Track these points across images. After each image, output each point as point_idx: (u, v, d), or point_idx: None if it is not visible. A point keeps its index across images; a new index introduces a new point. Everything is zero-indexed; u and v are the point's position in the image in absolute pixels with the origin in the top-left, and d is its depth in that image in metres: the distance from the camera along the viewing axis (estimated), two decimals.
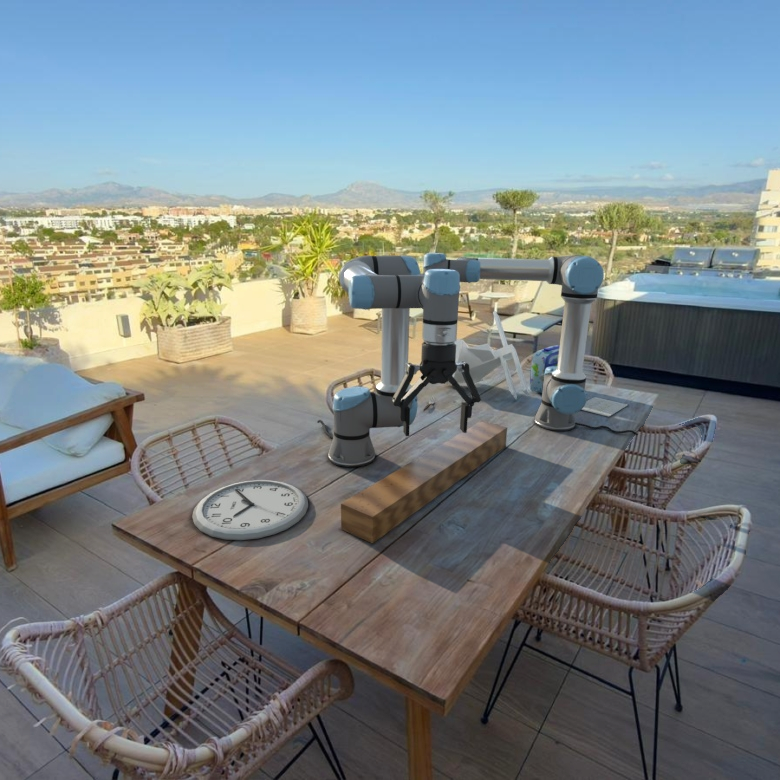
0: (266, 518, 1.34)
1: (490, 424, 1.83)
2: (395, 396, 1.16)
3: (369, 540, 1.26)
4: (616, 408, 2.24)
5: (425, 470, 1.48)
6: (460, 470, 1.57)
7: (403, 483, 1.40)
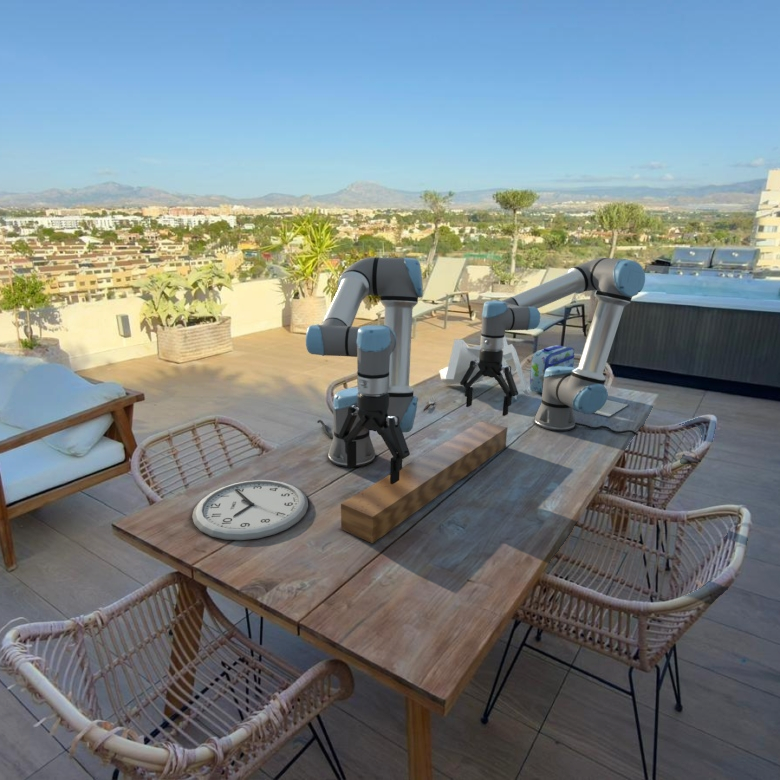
0: (266, 518, 1.34)
1: (490, 424, 1.83)
2: None
3: (369, 540, 1.26)
4: (616, 408, 2.24)
5: (425, 470, 1.48)
6: (460, 470, 1.57)
7: (403, 483, 1.40)
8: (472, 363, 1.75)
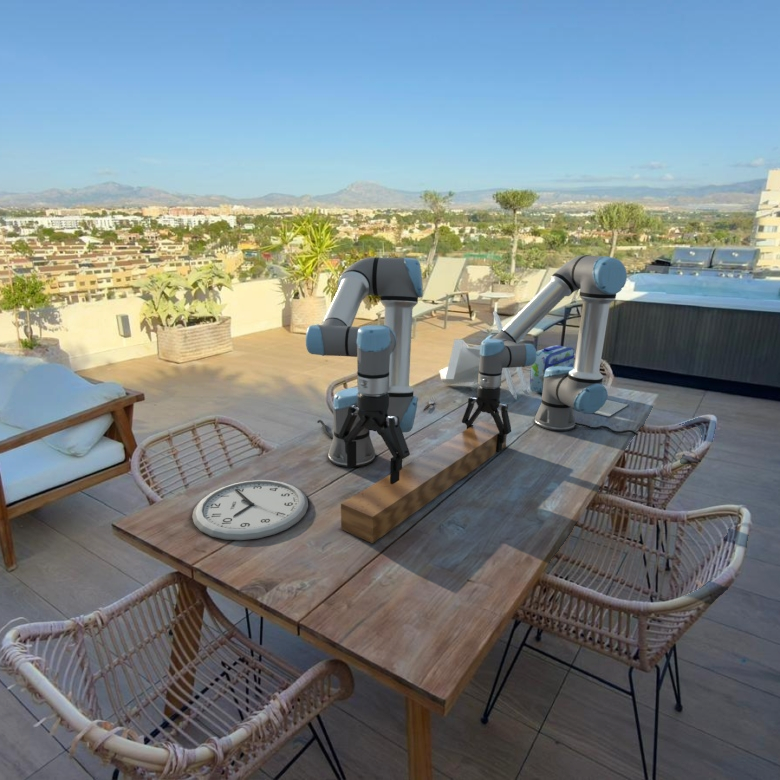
0: (266, 518, 1.34)
1: (490, 424, 1.83)
2: None
3: (369, 540, 1.26)
4: (616, 408, 2.24)
5: (425, 470, 1.48)
6: (460, 470, 1.57)
7: (403, 483, 1.40)
8: (470, 400, 1.79)
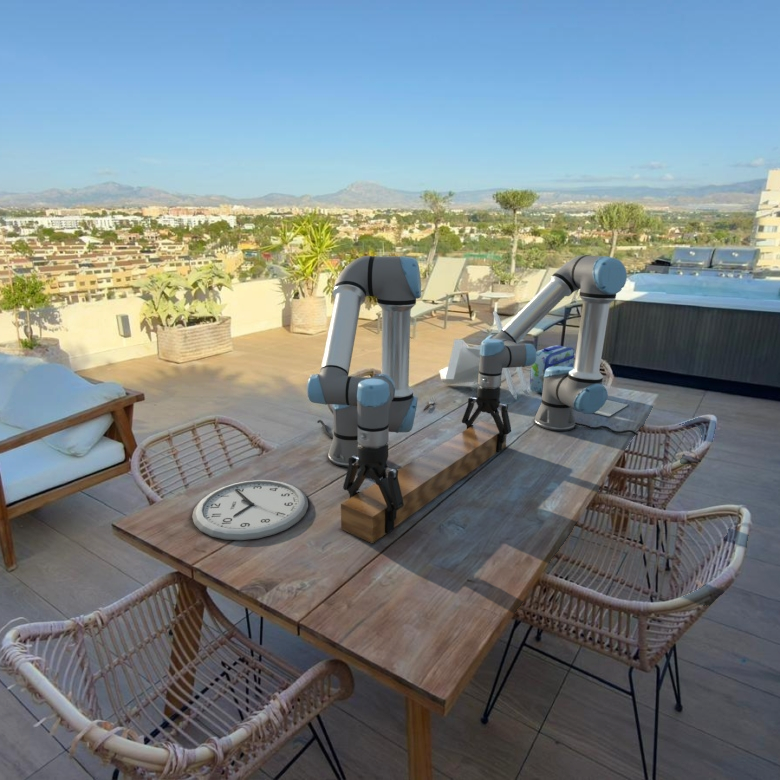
0: (266, 518, 1.34)
1: (490, 424, 1.83)
2: None
3: (369, 540, 1.26)
4: (616, 408, 2.24)
5: (425, 470, 1.48)
6: (460, 470, 1.57)
7: (403, 483, 1.40)
8: (470, 400, 1.79)
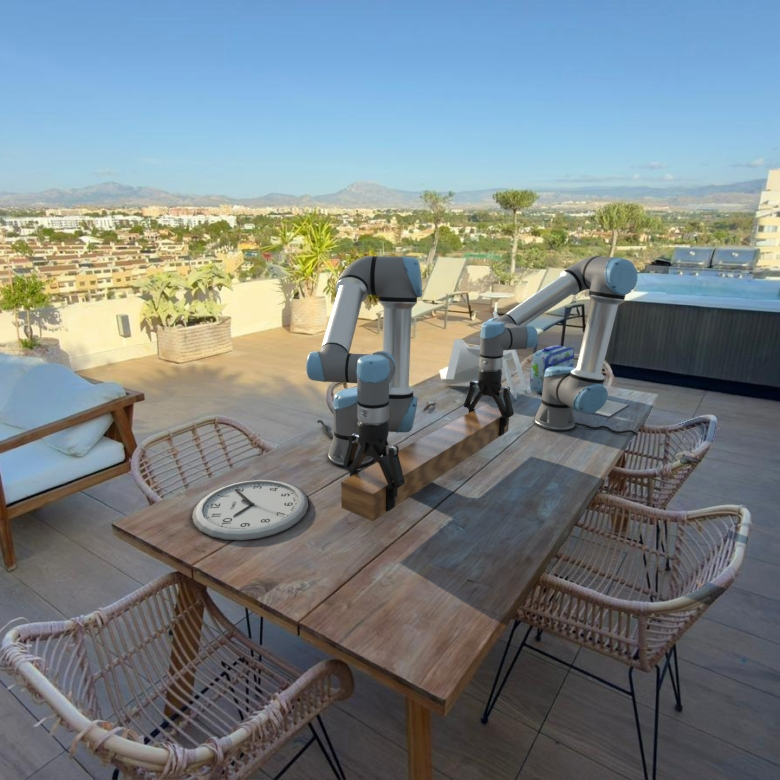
0: (266, 518, 1.34)
1: (492, 408, 1.82)
2: None
3: (369, 518, 1.25)
4: (616, 408, 2.24)
5: (427, 450, 1.47)
6: (462, 452, 1.56)
7: (404, 462, 1.39)
8: (471, 384, 1.77)
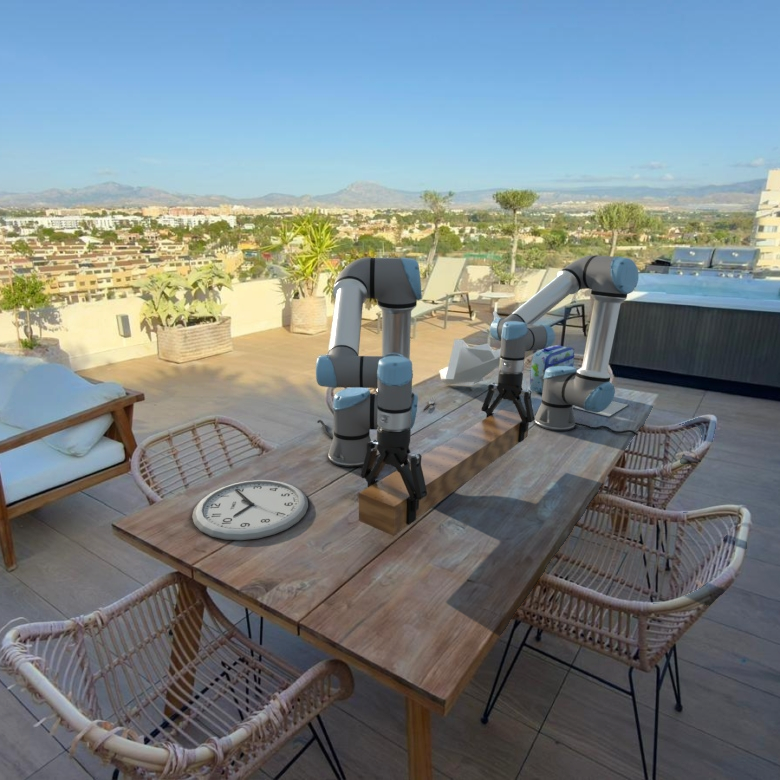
0: (266, 518, 1.34)
1: (511, 413, 1.73)
2: None
3: (390, 532, 1.16)
4: (616, 408, 2.24)
5: (447, 458, 1.38)
6: (482, 460, 1.47)
7: (424, 472, 1.30)
8: (490, 387, 1.69)
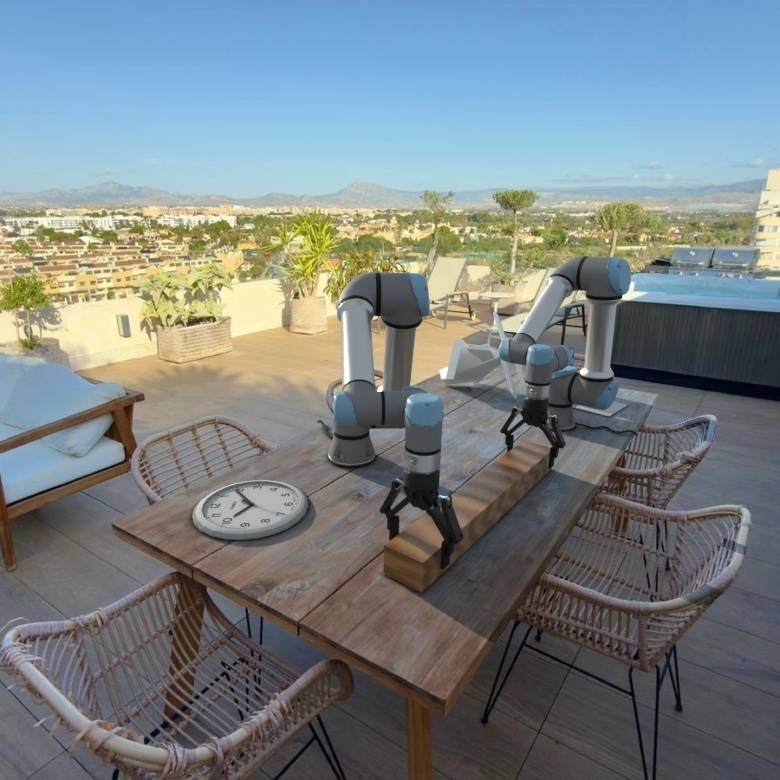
0: (266, 518, 1.34)
1: (534, 444, 1.67)
2: None
3: (417, 588, 1.10)
4: (616, 408, 2.24)
5: (473, 501, 1.31)
6: (508, 500, 1.41)
7: None
8: (514, 411, 1.61)
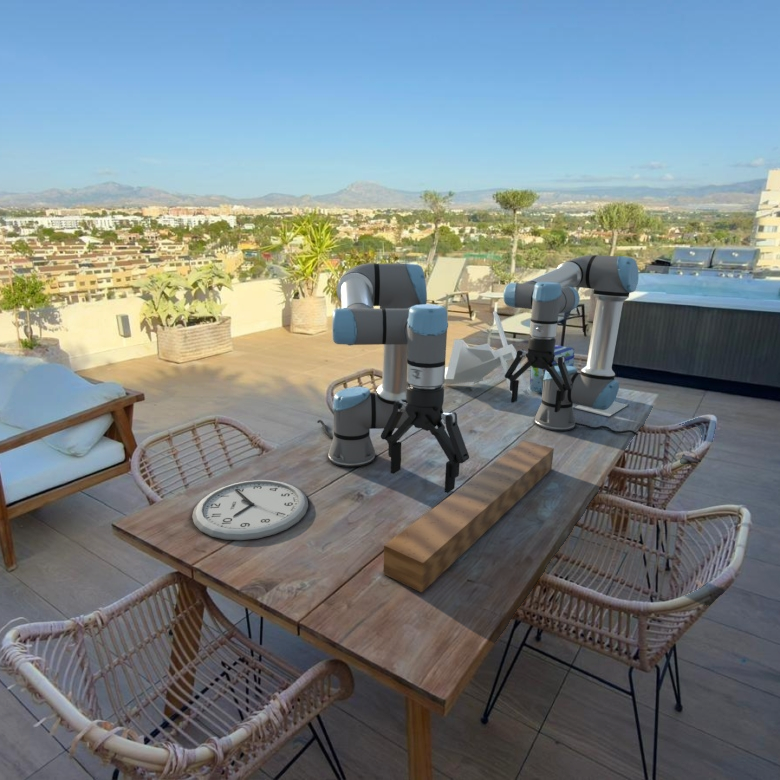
0: (266, 518, 1.34)
1: (534, 444, 1.67)
2: None
3: (417, 588, 1.10)
4: (616, 408, 2.24)
5: (473, 501, 1.31)
6: (508, 500, 1.41)
7: (451, 518, 1.23)
8: (519, 353, 1.56)
